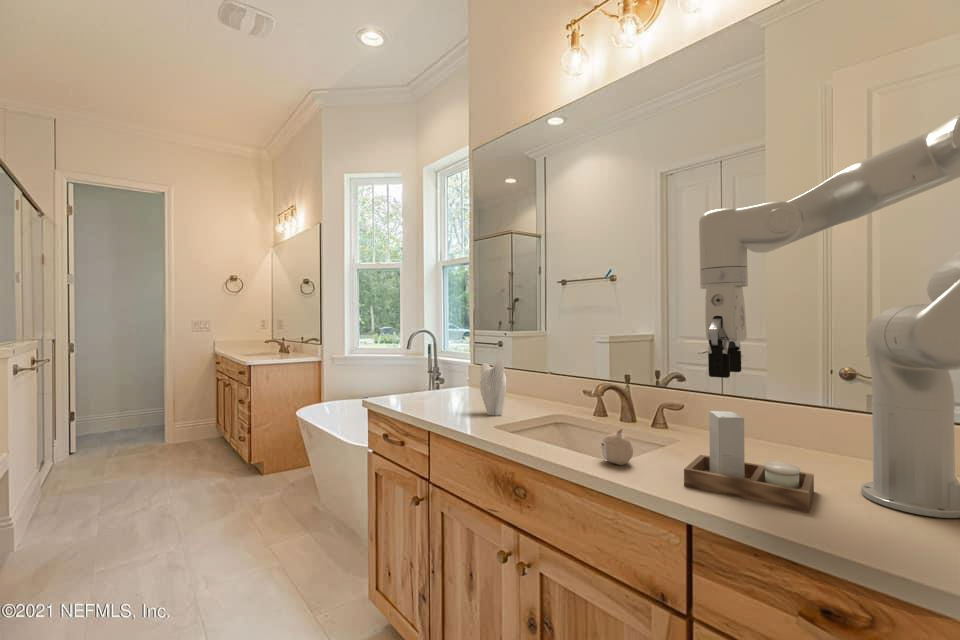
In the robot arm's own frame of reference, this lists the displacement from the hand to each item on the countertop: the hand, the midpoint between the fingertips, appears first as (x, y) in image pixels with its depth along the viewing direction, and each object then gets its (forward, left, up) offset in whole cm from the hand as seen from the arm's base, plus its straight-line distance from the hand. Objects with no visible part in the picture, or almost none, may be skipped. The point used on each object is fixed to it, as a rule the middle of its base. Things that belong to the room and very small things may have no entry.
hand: (725, 374), depth 81 cm
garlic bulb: (+20, +1, -20) cm, 28 cm away
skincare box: (0, 0, -19) cm, 19 cm away
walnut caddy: (-3, 0, -20) cm, 20 cm away
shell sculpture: (+70, -21, -20) cm, 76 cm away
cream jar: (-8, 0, -20) cm, 21 cm away
